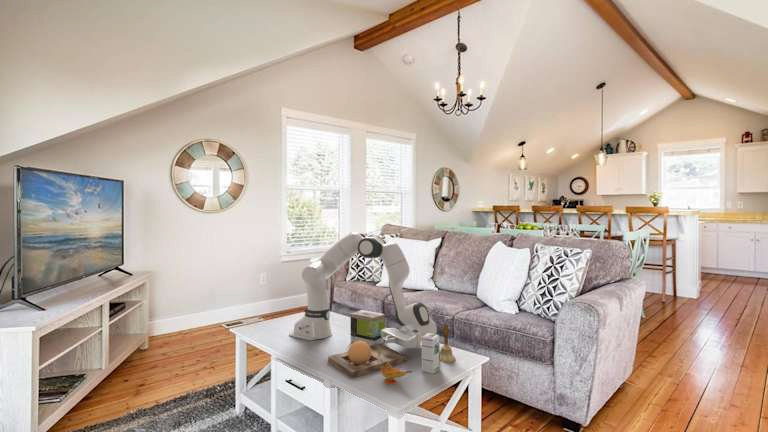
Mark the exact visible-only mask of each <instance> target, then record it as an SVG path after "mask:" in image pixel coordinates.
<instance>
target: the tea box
mask: <svg viewBox="0 0 768 432" xmlns="http://www.w3.org/2000/svg"><path fill="white" fill-rule="evenodd" d="M382 329H386V314H385V313H382V312H381V313H380V312H377V311H373V310H372V311H370V310H365V309H361V310H358V311H354V312H352V313H350V342H351V343H354V342H356V341H364V342H366V343H367V344H368V345H369V346H371V345H375V344H379V343H380V344H382V345H384V344H386V343H385V342H383V338H382V337H381V330H382Z"/></svg>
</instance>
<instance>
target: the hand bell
mask: <svg viewBox="0 0 768 432" xmlns="http://www.w3.org/2000/svg"><path fill="white" fill-rule="evenodd" d="M442 333H443V337H444V340H443V341H444V342H443V343H444V344H443V345H441V347H440V362H442V363H453V362H455V361H457V359H456V357H455V355H454V354H453V351H452V350H453V349H452V347H451V345H449V334H450V330H449V326H448V323H446V322H444V325H443V327H442Z"/></svg>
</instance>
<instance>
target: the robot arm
mask: <svg viewBox="0 0 768 432" xmlns="http://www.w3.org/2000/svg"><path fill="white" fill-rule="evenodd" d="M357 254H359V255H360V256H361V257H363V258H365V259H375V258H380V259H381V260H382V263H383V265H384V266H385V269H386V273H387V276H388V287H389V292H390V296H391V300H392V302H393V306H394V310H395V319H396V322H397V323H398V324H399V326H401V327H400V328H398V329H397V328H395V327H387V328H386V327H385V329H382V330H381V337H382V338H383V342H385V343H384V344H396V345H398V346H399V347H402V348H404V349H412V348H419V347H421V342H422V339H421V337H422V336H424V335H426V334H427V333H432V334H437V330H438V328H437V324H436V322H435V320H433V319H432V318H431V317H430V313H429V311H428V308H427V307H426V305H425V304H424V303H423V302H419V301H417V302H414V303H411V304H409V305H407V302H406V299H405V295H404V292H403V286H404V283H405V282H406V280H407V279H408V277H409V275H410V272H411V271H410V265H409V263H408V261H407V258H406V255H405V254H404V252H403V250H402V248H401V247H400V245H399V244H398V243H396V242H392V241H391V242H388V243H386V241H385V240H384V239H383V238H381V237H379V236H373V235H372V236H365V237H363V235H362V234H361V233H359V232H357V231H352V232H351V233H348V234H347V235H345V236H344V237H342V238H341V239H339V240H338V241H337V242H336V243H335V244H334V245H332V246H331V247H329V249H327V250H326V252H325V253H323V255H322V256H321V257H320V258H319V259H317V260H316V261H314V262H312V263H309V264H307V265H306V266H305V267H304V268H303V270H302V272H301V279H302V280H303V282H304V283H305V289H306V293H307V308H305V309H304V310H303V313H304V315H303V316H301V318H299V319H298V320H296V322H295V323H294V325H293V326H294V327H293V329H292V330H291V331H290V332H289V333H288V335H289V336H290V337H294V338H297V339H302V340H306V341H314V340H319V339H320V340H321V339H326V338H329V337H331V336H332V335H333V332H332V329H331V320H330V317H331V315H330V313H331V312H330V311H331V309H330V293H329V291H328V290H327V289H328V288H327V285H326V284H327V283H326V280H328V279H329V278H330V277H332V276H333V275H334V274H335V273H336V272H337V271H338V270H340V268H341V267H343V266H344V265H345V264H346V263H347V262H349V261H350V260H351V259H353V257H355V256H356V255H357Z"/></svg>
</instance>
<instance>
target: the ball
mask: <svg viewBox="0 0 768 432" xmlns="http://www.w3.org/2000/svg"><path fill="white" fill-rule="evenodd" d="M351 343H352V344H350V346H349V347H348V351H347V352H348V357H349V359H350V363H351V364H353V365H355V366H358V365H362V364H365V363H369V362H370V360H369V359H370V357H371V349H370V346H369V345H368V344H367V343H366V342H364V341H356V342H354V343H353V342H351Z"/></svg>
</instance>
